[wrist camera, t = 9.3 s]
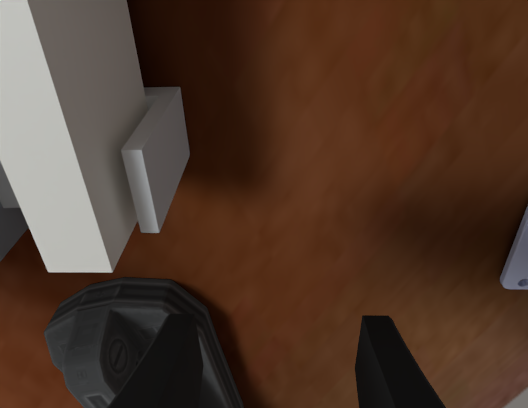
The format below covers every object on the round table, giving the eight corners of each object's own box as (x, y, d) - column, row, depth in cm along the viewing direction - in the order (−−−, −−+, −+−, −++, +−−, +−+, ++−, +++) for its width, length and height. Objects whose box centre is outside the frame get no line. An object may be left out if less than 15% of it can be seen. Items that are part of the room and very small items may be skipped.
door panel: (8, -221, 11) (-212, -334, 6) (82, -226, 11) (-81, -344, 6) (113, 173, 18) (48, 272, 13) (160, 173, 18) (112, 272, 13)
